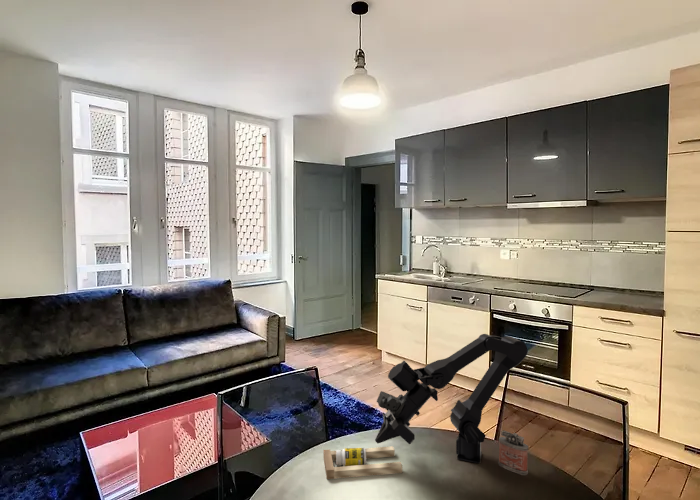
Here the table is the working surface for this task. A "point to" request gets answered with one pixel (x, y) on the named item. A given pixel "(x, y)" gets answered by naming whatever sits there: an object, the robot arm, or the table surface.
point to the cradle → (362, 469)
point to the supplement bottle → (351, 457)
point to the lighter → (513, 453)
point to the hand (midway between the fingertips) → (376, 441)
